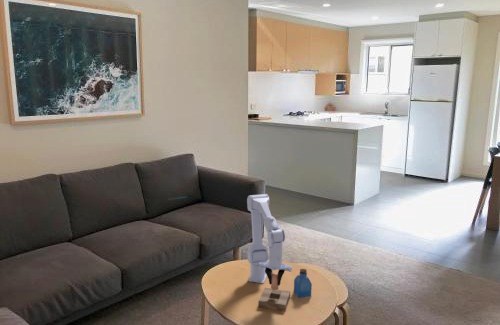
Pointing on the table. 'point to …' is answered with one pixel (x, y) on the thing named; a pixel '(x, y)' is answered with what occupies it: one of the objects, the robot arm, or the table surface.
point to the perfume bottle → (302, 284)
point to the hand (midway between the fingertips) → (274, 283)
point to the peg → (274, 281)
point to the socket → (274, 299)
